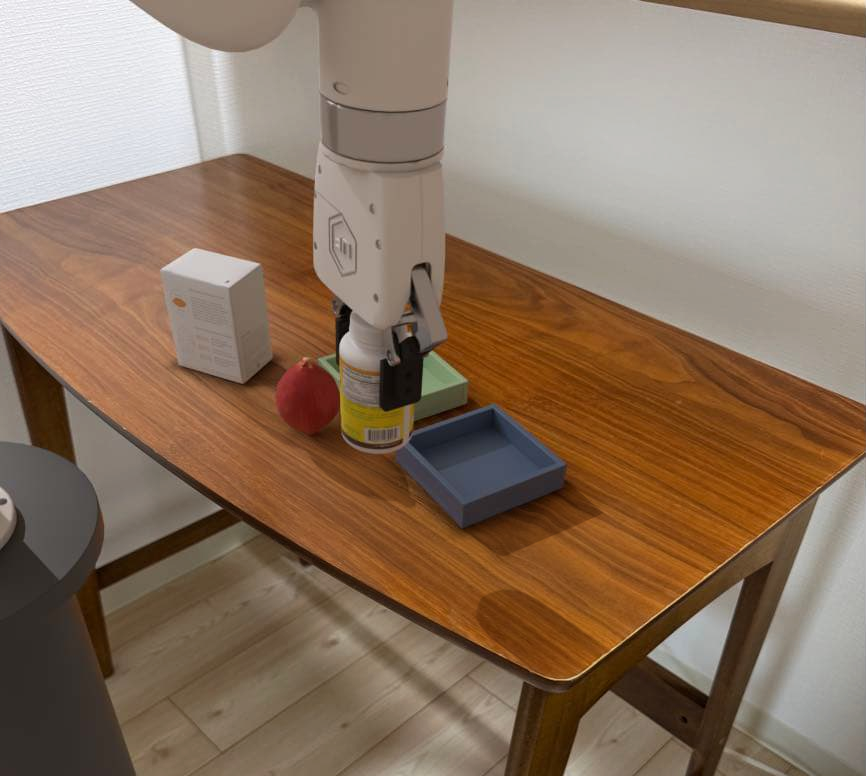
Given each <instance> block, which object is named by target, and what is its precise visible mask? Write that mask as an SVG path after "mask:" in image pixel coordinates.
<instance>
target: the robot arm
mask: <svg viewBox="0 0 866 776" xmlns="http://www.w3.org/2000/svg"><path fill="white" fill-rule="evenodd" d="M128 1H129V2H130V3H132V4H133V5H135V6H136V7H137V8H139V9H140V10H142V11H143V12H144V13H146V14H147V15H149V16H150V17H151V18H153V19H154V20H155V21H157V22H158V23H160V24H162V25H163V26H164V27H166V28H168V29H169V30H171V31H172V32H174V33H175V34H177V35H179V36H181V37H183V38H185V39H187V40H188V41H190V42H192V43H195V44H197V45H199V46H202V47H205V48H208V49H210V50H214V51H219V52H224V53H246V52H250V51H254V50H258V49H260V48H263V47H265V46H266V45H268V44H270V43H272V42H273V41H275V40H276V39H277V38H278V37H279V36H281V34H282V33H283V32H284V31H286V29H287V28H288V27H289V25H290V23H291V22H292V21H293V19H294V18H295V15H296V13H297V11H298V9H300V8H305V7H306V8H310V9H311V10H312V11H313V12H314V13H315V16H316V19H317V22H316V23H317V25H316V27H317V61H318V64H317V66H318V89H319V91H318V93H319V94H318V97H319V98H318V99H319V135H320V136H319V143H318V148H317V156H316V164H315V174H314V175H315V177H314V188H313V189H314V190H313V219H312V220H313V221H312V223H313V225H312V226H313V228H312V230H313V231H312V250H313V251H312V252H313V253H312V254H313V256H312V257H313V268H314V272H315V274H316V275H317V278H318V279H319V280H320V281H321V282H322V284H324V286H326V287H327V289H329V290H330V291H331V292H332V293H333V294H332V299H331V308H332V311H333V313H334V315H335V316H337V317H335V318H334V319H335V320H334V323H335V324H334V325H335V327H334V329H335V354H336V363H337V365H338V366H339V367H340V363H339V346H340V342H341V340H342V338H343V337H344V335H345V334H346V333H347V332H349V327H350V315H351V313H352V311H354V312H355V313H356V314H358V315H359V316H360V317H361V318H362V319H363V320H365V321H366V322H367V323H368V324H370V325H371V326H373V327H374V328H376V329H379V330H382V334H383V341H384V347H385V354H386V358H385V359H382V360H380V386H379V406H380V408H381V409H382V410H383V411H385V412H388V411H391V410H394V409H397V408H401V407H404V406H407V405H410V404H414V403H417V402H419V401H420V399H421V395H422V378H423V361H424V358H425V357H427V356H428V355H429V352H431V351H434V350H435V348H438V347H439V346H441V345H443V344H444V343H446V342H447V341H448V338H449V337H448V336H449V334H448V331H447V328H446V325H445V322H444V318H443V315H442V312H441V309H440V307H441V304H442V299H443V291H444V283H445V281H444V280H445V269H446V268H445V267H446V204H445V186H444V174H443V173H444V172H443V164H442V163H441V161H442V159H443V157H444V155H445V154H444V153H445V143H446V142H445V141H446V125H447V110H448V96H449V95H448V93H449V77H450V62H451V50H452V49H451V47H452V33H453V16H454V1H455V0H128ZM408 305H409V310H406V307H407V306H408ZM406 324H407V325H410V332H411V333H412V336H410V337H407V338H406V339H404V340H403V341H402V342H400V343H399V339H398V332H397V327H398V326H402V325H406ZM16 523H17V513H16V510H15V507H14V504H13V501H12V499H11V498H10V496H9V494H8V493H7V492H6V491H5V490H4V489H3V488H1V487H0V550H1V549H2V547H3V546H4V545H5V544H6V543H7V542H8V540H9V539H10V537H11V535H12V534H13V532H14V529H15V526H16Z"/></svg>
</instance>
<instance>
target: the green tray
mask: <svg viewBox="0 0 866 776" xmlns="http://www.w3.org/2000/svg"><path fill="white" fill-rule="evenodd" d="M407 333H408V334H409V335H410V336H412V333H411V331H409V332H407ZM317 365H319V366H321V367H323V368H324V369H325V370H326V371H328V372H329V373H330V374H331V375H332V377H333V378H334V379H335V381H336V384H337V386H338V389H339V391H340V367H339V366H338V365H337V363H336V353H332V354H329V355H325V356H323V357H318V358H317ZM469 381H470V380H468V379H467V378H465V377H464V376H463V375H462V374H461V373H460V372H458V371H457V370H456V369H455V368H454V367H453V366H451V364H449V363H448V362H447V361H446V360H444V359H443V358H442V357H441V356H440V355H438V353H436V352H435V351H434V350H432V351H431V352H429V355H428V356H427V357H425V358H424V361H423V378H422V395H421V399H420V401H419V402H417V403H414V422H416V421H420V420H423V419H425V418H429V417H431V416H434V415H437V414H440V413H443V412H447V411H449V410H453V409H455V408H458V407H461V406H464V405H467V404H468V395H469V383H470V382H469Z"/></svg>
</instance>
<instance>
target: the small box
mask: <svg viewBox="0 0 866 776" xmlns="http://www.w3.org/2000/svg"><path fill="white" fill-rule="evenodd" d="M263 271H264V270H263V266H262V263H259V262H256V261H255V262H254V261H251V260H247V259H242V258H238V257H236V256H235V257H234V256H231V255H226V254H223V253H218V252H214V251H210V250H205V249H201V248H197V247H194V248H192V249H191V250H189V251H187V252H185V253H184V254H182V255H180V256H179V257H178V258H176V259H174V260H173V261H171V262H170V263H168V264H166V265H165V266H164V267H162V268H160V270H159V272H160V277H161V282H162V287H163V288H162V289H163V293H164V297H165V303H166V309H167V314H168V318H169V323H170V328H171V334H172V338H173V339H172V340H173V343H174V348H175V353H176V354H175V355H176V358H177V359H176V360H177V364H178V366H180V367H183V368H187V369H190V370H194V371H197V372H200V373H203V374H207V375H211V376H214V377H218V378H221V379H224V380H227V381H231V382H234V383H237V384H242V385H244V384H246V383H247V382H248V381H249V380H250V379H251V378H252V377H253V376H255V375H256V374H257V373H258V372H259V371H260V370H262V369H263V368H264V367H265V366H266V365H267V364H268V363H269V362H270V361H271V360H272V359H273V358H274V355H273V347H272V338H271V331H270V322H269V321H270V320H269V314H268V313H269V312H268V305H267V297H266V288H265V279H264V272H263Z"/></svg>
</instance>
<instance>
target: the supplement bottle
mask: <svg viewBox="0 0 866 776" xmlns="http://www.w3.org/2000/svg"><path fill="white" fill-rule="evenodd" d="M397 332H398V339H399V343H400V342H402V341H403V340H404V339H406V338H407V337H410V335H409V334H408V333H409V332H408V324H406V325H402V326H398V327H397ZM385 358H386V354H385V347H384V341H383V334H382V330H379V329H376V328H374V327H373V326H371V325H370V324H368V323H367V322H366V321H365V320H363V319H362V318H361V317H360V316H359V315H358V314H356V313H355V312H354V311H352V313H351V315H350V327H349V332H347V333H346V334H345V335H344V337H343V338H342V340H341V342H340V346H339V363H340V407H339V410H340V432H341V436H342V438H343V439H344V441H345V442H346V443H347V445H349V446H350V447H352V448H353V449H354V450H357V451H360V452H361V453H362V452H363V453H367V454H372V455H373V454H374V455H383V454H390V453H394V452H396V450H399V449H400V448H402V447H404V446H405V445H406V444H407V443H408V442H409V441H410V439H411V437H412V434H413V431H414V422H415V421H414V404H410V405H407V406H404V407H401V408H397V409H394V410H391V411H388V412H385V411H383V410H382V409H381V408H380V406H379V386H380V360H382V359H385Z"/></svg>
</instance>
